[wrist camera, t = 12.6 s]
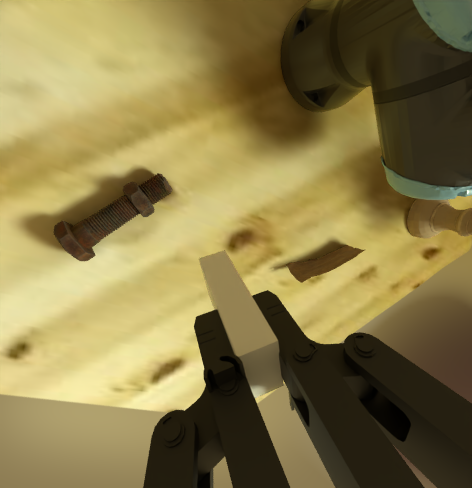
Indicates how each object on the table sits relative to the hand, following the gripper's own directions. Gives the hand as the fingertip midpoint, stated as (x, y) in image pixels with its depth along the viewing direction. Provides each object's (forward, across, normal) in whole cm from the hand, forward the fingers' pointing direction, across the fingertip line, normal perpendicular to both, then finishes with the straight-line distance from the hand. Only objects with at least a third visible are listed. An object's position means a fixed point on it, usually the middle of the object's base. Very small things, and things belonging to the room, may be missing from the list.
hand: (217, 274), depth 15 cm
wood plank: (+27, +24, -24) cm, 43 cm away
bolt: (+27, -8, -4) cm, 28 cm away
